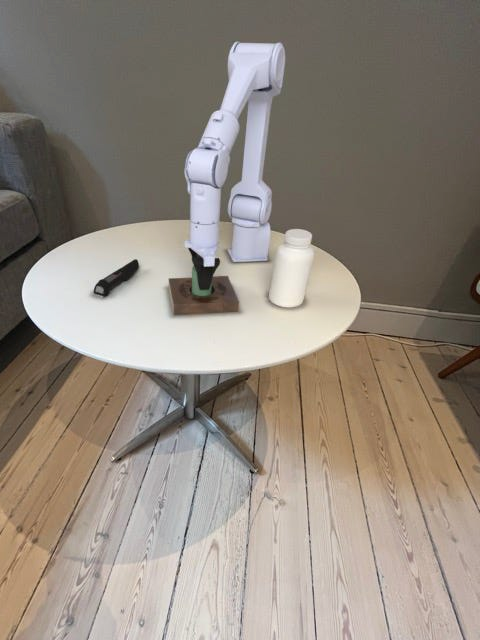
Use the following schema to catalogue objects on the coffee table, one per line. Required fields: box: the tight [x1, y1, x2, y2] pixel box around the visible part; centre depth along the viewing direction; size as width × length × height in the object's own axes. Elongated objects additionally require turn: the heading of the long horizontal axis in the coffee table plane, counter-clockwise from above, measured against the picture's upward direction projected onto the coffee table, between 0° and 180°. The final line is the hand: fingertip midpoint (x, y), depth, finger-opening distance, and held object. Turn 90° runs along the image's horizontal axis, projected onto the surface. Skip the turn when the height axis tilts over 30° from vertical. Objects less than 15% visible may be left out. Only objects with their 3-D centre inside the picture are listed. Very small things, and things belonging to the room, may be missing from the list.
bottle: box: [191, 254, 212, 296], centre depth 83 cm, size 4×4×10 cm
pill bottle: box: [268, 228, 315, 308], centre depth 83 cm, size 8×8×15 cm
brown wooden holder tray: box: [168, 275, 240, 316], centre depth 86 cm, size 14×12×2 cm
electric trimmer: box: [93, 258, 140, 298], centre depth 92 cm, size 4×16×3 cm, turn 152°
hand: (202, 283), depth 85 cm, fingers closed on bottle, 4 cm apart
